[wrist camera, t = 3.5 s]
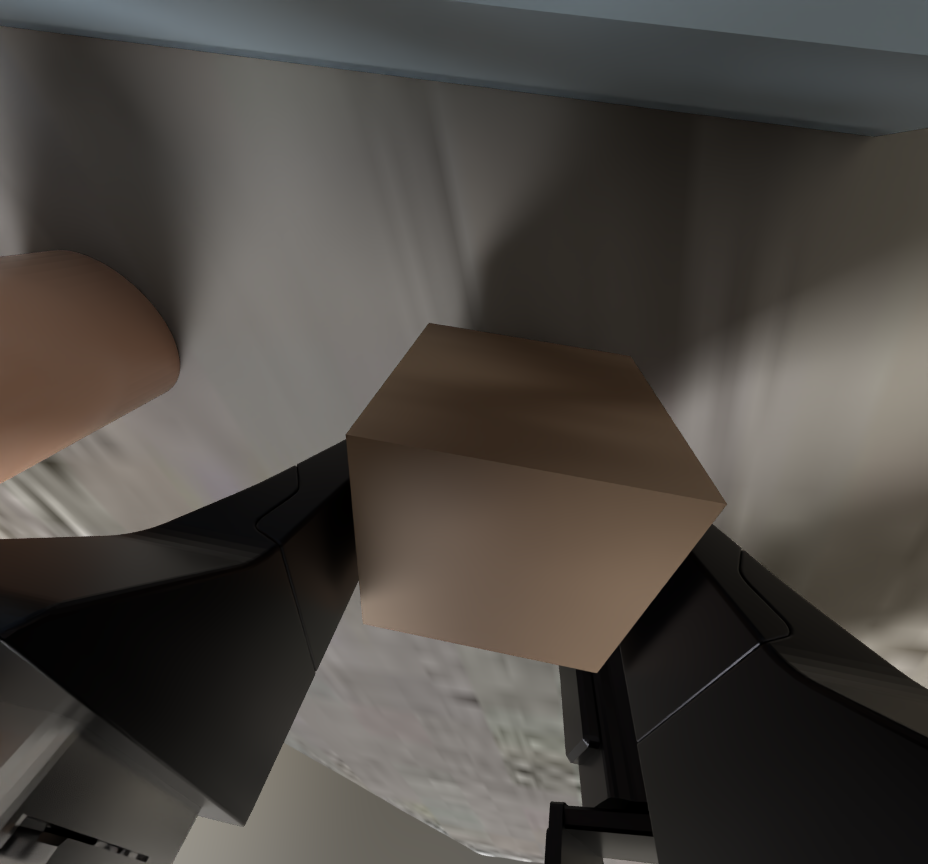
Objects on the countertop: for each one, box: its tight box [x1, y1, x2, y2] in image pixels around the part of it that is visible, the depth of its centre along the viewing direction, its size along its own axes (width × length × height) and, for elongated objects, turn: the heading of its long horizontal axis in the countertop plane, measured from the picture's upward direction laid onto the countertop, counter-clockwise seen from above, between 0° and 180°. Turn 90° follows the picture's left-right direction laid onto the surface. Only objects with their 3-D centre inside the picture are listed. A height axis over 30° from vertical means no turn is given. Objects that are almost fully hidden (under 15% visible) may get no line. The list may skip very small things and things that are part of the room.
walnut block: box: [346, 323, 727, 673], centre depth 8 cm, size 5×5×5 cm
